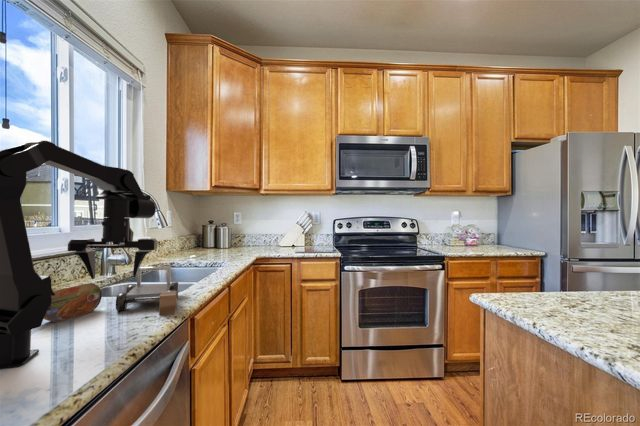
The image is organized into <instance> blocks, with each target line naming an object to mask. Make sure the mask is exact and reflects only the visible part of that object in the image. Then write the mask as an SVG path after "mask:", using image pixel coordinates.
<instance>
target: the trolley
mask: <svg viewBox="0 0 640 426" xmlns="http://www.w3.org/2000/svg"><path fill="white" fill-rule="evenodd" d="M171 268H172V266H171V265H168V266H166V265H165V266H164V265H163V266H140V268H139V270H138V273H137V275H136V284H135V283H134V284H127V286H126V291H125V292H119V293H117V295H116V299H115V310H116V311H117V312H120V311H126V310H127V308H128V304H134V303H136V304H137V303H148V302H159V299H160V295H161V293H162V292H171V291H177V298H178V297H179V282H178V281H176V282H175V281H173V282H171V277H172V276H171V271H172V269H171ZM142 271H143V272H145V271H166V283H157V284H156V283H155V284H152V283H151V284H142Z"/></svg>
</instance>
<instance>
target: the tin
mask: <svg viewBox="0 0 640 426" xmlns="http://www.w3.org/2000/svg"><path fill="white" fill-rule="evenodd" d="M52 291H53V292H54V294H55V295H54V296H52V304H51V306H50V307H49V308H48V310H47V311H46V314H45V316H44V319H43V320H45V321H47V322H48V321H49V322H55V323H56V322H57V323H59V322H63V321H66V320H69V319H73V318H76V317H79V316H83V315H86V314H89V313H91V312H93V311H94V310H96V309H97V308H98V307H99V305H100V304H101V301H102V290H101V288H100V286H98V285H97V284H95V283H91V282H89V283H79V284H77V285H72V286H67V287H66V286H65V287H62V288H57V289H56V288H55V289H52Z"/></svg>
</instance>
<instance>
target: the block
mask: <svg viewBox="0 0 640 426" xmlns="http://www.w3.org/2000/svg"><path fill="white" fill-rule="evenodd" d="M177 299H178V297H177V291H171V292H162V293H161V295H160V299H159V301H158V302H159V309H158V314H159V315H160V316H170V315H169V314H172V315H176V311H177V308H178V307H177V302H178V301H177ZM159 315H158V316H159Z"/></svg>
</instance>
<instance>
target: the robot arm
mask: <svg viewBox="0 0 640 426" xmlns="http://www.w3.org/2000/svg"><path fill="white" fill-rule="evenodd" d="M44 164H45V165H47V166H50V167H53V168H56V169H58V170H62V171H64V172H67V173H70V174H71V175H74V176H75V175H76V176H78V177H80V178H84V179H87V180H88V181H90V182H92V183H93V184H94V185H95V186H96V187H98V188H99V189H102V192H100V193H99V194H97V195H95V199H96V200H103V217H102V218H103V219H102V220H103V221H101V226H102V235H101V236H102V237H101V239H100V241H99V240H98V241H97V240H96V239H95V238H73V239H70V240H69V241H68V243H67V251H68V252H73V255H75V256H76V255H77V256H79V258H80V260H81V261H82V262H83V264H84V266H85V268H86V269H87V272H88V274H89V276H90V278H91V280H94V279H96V258H95V257H96V253H97V250H96V249H130V248H131V249H133V248H134V249H135V248H136V249H137V251H135V253H134V262H133V269H132V274H133V278H137V273H138V270H139V268H140V267H141V265H142V263H143V261H144V259H145V257H146V256H147V254H150V253H152V252H153V251H155V250H157V249H158V240H157V239H156V238H138V239H137V240H134V231H133V229H132V228H131V221H130V220H131V219H151V218H152V217H153V216H155V214H156V211H157V206H156V204H155V203H154V201H153V199H151V195H148V194H144V193H143V191H142V189H141V187H140V185H139V183H138V181H137V180H136V177H135V176H134V175H135V174H134V173H133V172H132V171H131V170H129V169H125V168H121V167H115V166H114V167H113V166H108V165H104V164H100V163H99V162H96V161H94V160H91V159H89V158H88V157H87V158H86V157H84V156H82V155H79V154H77V153H74V152H72V151H70V150H67V149H65V148H63V147H62V146H58V145H56V144H55V143H54V142H52V141H50V140H49V141H48V140H29V141H27V142H26V143H23V144H20V145H16V146H12V147H9V148H5V149H0V369H5V368H14V367H20V366H23V365H25V363H27V362H28V361H30V360H31V359H32V358H33V357H34V356H35V355H37V354H38V353H39V352H40V350H39V348H37V349H31V348H32V347H31V346H32V345H31V344H32V342H31V340H32V330H34V329H37V328H40V327H41V326H42V324H43V322H44V320H45V319H44V316H45V314H46V311H47V310H48V308H49V307H50V306H51V304H52V296H54V295H55V294H54V292H53V291H52V290H53V288H52V278H51V276H50V275H49V276H48V275H46V276H45V275H39V274H38V273H37V272H36V269H35V266H34V262H33V257H32V256H33V255H32V252H31V247H30V241H29V237H28V236H29V235H28V233H27V232H28V231H27V227H26V221H25V216H24V212H23V207H22V201H21V198H22V196H23V193H24V191H25V189H26V186H27V177H28V175H27V174H28V172H30V171H33V170H35V169H37V168H40V167H41V166H43V165H44ZM95 240H96V241H95ZM108 243H109V244H108ZM93 249H95V250H93Z"/></svg>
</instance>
